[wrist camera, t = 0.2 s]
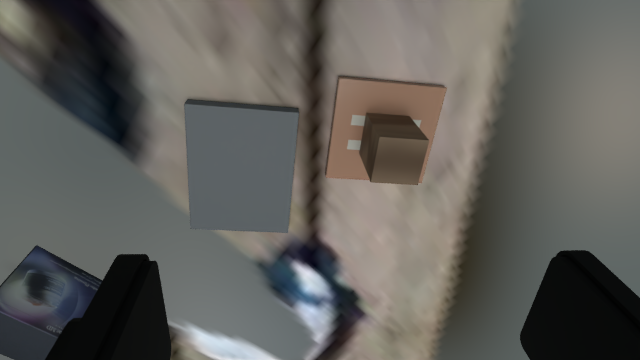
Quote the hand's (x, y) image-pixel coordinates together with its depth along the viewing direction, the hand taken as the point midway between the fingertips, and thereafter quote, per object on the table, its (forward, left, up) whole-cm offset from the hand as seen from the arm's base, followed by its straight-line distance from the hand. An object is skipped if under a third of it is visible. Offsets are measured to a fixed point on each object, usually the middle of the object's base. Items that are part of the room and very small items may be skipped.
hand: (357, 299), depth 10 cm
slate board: (+15, -5, -36) cm, 40 cm away
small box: (+33, -28, -36) cm, 57 cm away
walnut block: (+9, +11, -35) cm, 38 cm away
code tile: (+9, +11, -36) cm, 39 cm away
